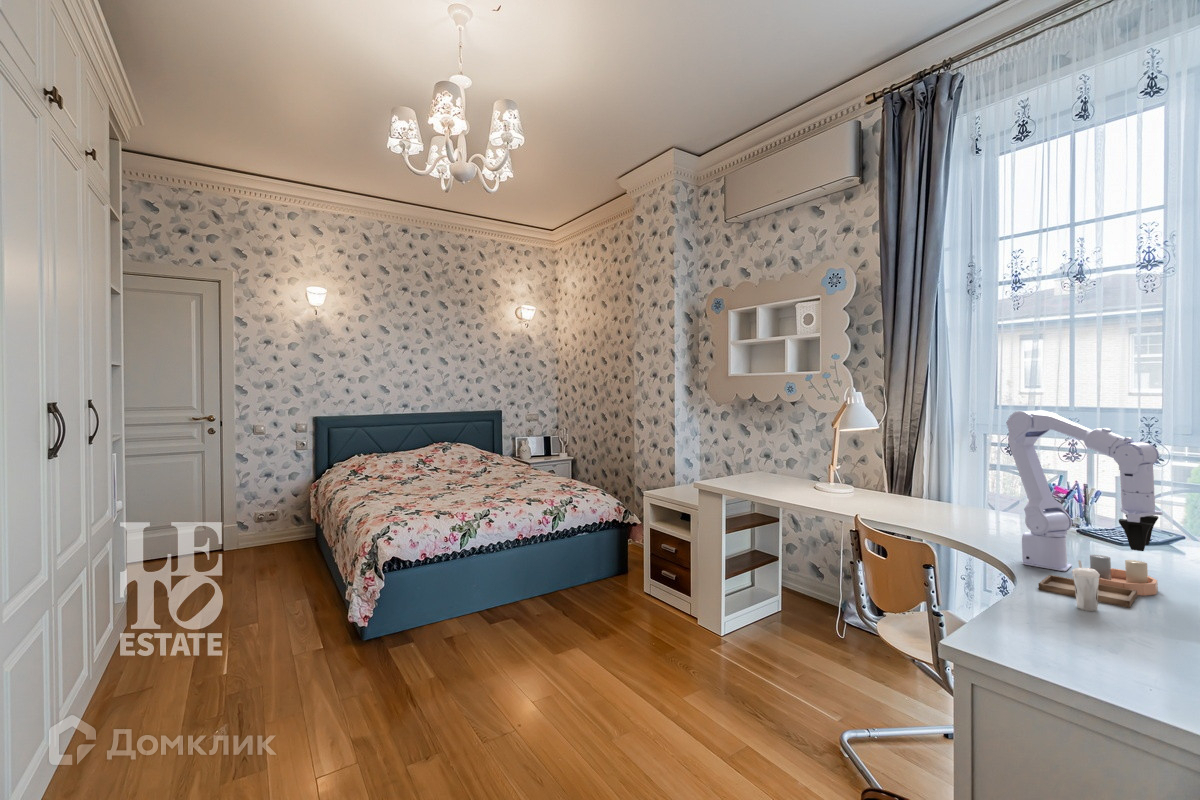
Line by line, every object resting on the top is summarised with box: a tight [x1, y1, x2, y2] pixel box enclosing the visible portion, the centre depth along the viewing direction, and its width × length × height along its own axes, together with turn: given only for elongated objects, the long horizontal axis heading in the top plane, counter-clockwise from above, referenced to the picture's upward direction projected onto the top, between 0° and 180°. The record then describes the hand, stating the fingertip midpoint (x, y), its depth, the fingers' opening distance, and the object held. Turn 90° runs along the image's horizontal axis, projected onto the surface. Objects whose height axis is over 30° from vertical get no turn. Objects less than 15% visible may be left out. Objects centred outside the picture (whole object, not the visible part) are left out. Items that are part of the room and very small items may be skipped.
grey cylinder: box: [1089, 554, 1112, 580], centre depth 133 cm, size 4×4×6 cm
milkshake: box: [1071, 559, 1100, 613], centre depth 117 cm, size 4×5×10 cm
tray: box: [1038, 574, 1138, 609], centre depth 126 cm, size 16×10×2 cm, turn 37°
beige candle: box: [1124, 559, 1149, 584], centre depth 128 cm, size 4×4×6 cm
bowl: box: [1088, 567, 1159, 597], centre depth 130 cm, size 13×13×3 cm
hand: (1140, 547), depth 127 cm, fingers open, 7 cm apart
